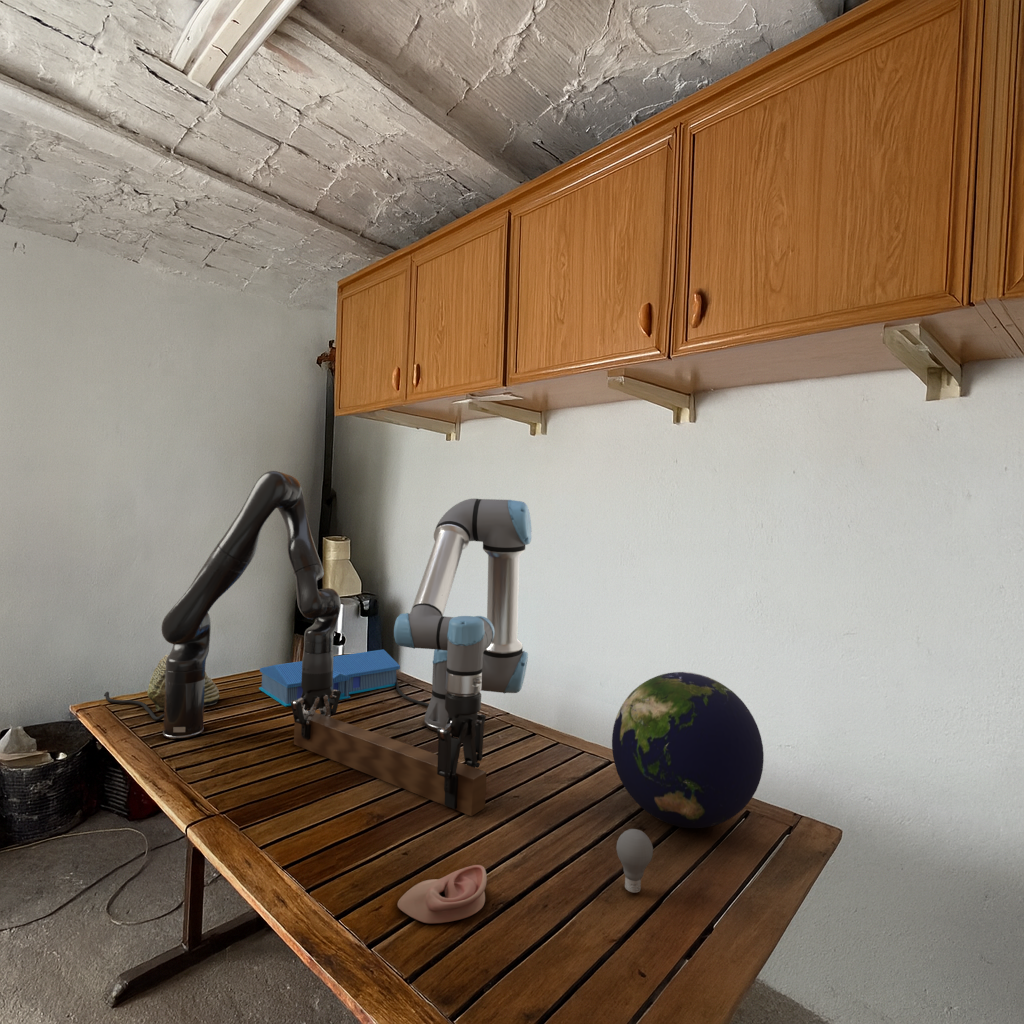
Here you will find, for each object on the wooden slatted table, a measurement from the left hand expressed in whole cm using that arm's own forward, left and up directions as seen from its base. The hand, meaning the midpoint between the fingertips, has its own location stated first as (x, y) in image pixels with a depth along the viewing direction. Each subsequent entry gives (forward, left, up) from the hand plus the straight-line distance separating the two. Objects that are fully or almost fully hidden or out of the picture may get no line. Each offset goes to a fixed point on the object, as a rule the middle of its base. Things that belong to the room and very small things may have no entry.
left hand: (315, 735), depth 160 cm
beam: (+23, +5, -3) cm, 24 cm away
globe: (+80, +41, -3) cm, 90 cm away
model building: (-41, +26, -3) cm, 49 cm away
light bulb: (+87, +14, -3) cm, 88 cm away
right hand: (+46, +10, -2) cm, 47 cm away
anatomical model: (+70, -13, -3) cm, 71 cm away
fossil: (-50, -16, -3) cm, 53 cm away
